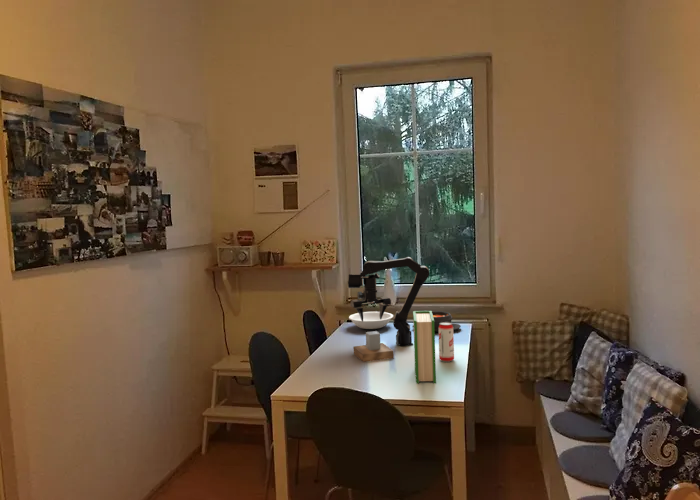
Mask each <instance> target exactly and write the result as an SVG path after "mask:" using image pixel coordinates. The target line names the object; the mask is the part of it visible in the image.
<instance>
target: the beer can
mask: <svg viewBox="0 0 700 500" xmlns="http://www.w3.org/2000/svg"><path fill="white" fill-rule="evenodd" d="M452 323H453V322H451V323H450V322H441V323H440V325H439V332H438V354H439V355H438V356H439V357H438V358H439V360H440V361H441V362H442V361H443V363H450V361H451V362H453V361H454V359H455V343H454V341H455V339H454V337H455V336H454V330H453V326H452ZM452 360H453V361H452Z"/></svg>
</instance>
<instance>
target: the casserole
mask: <svg viewBox="0 0 700 500" xmlns="http://www.w3.org/2000/svg"><path fill="white" fill-rule="evenodd" d="M431 311H432V310H431ZM432 314H433V318H434V330H435V333H439V325H440V323H441V322H450V323H452V326H453V331H455V330H458V329H460V328H461V325H460V324H459V323H453V322H452V320H453V318H454V317H453V316H452V314H451V313H450V312H447V311H438V310H434V311H432ZM412 328H413V329H414V325H413V324H412Z"/></svg>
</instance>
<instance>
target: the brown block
mask: <svg viewBox="0 0 700 500" xmlns="http://www.w3.org/2000/svg"><path fill="white" fill-rule="evenodd" d="M380 348H381V349H378V350H369V349H367V348H366V344H365V345H356V346H353V354H354V355H355V357H357V359H359V360H361V362H362V363H367V362H375V361H383V360H389V359H390V360H391V359H394V358H395V356H394V355H395V353H394V352H395V351H394V349H392V348H391V347H389V346H388V345H387V344H385V343H383V342H380Z"/></svg>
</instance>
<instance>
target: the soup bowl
mask: <svg viewBox="0 0 700 500" xmlns="http://www.w3.org/2000/svg"><path fill="white" fill-rule="evenodd" d="M393 317H394V314H392V313H390V312H386V311H384V314H383V316H382V319H380V311H363V321H362V320H361V318H360V315H359V313H358V312H357V313H353V314H350V315H349V317H348V319H349V321H352V323H353V324H354V326H356V327H358V328H360V329H363V330H364V329H365V330H376V329H381V328H384V327H385V326H387V324H389V322H390V320H391V319H393Z"/></svg>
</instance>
